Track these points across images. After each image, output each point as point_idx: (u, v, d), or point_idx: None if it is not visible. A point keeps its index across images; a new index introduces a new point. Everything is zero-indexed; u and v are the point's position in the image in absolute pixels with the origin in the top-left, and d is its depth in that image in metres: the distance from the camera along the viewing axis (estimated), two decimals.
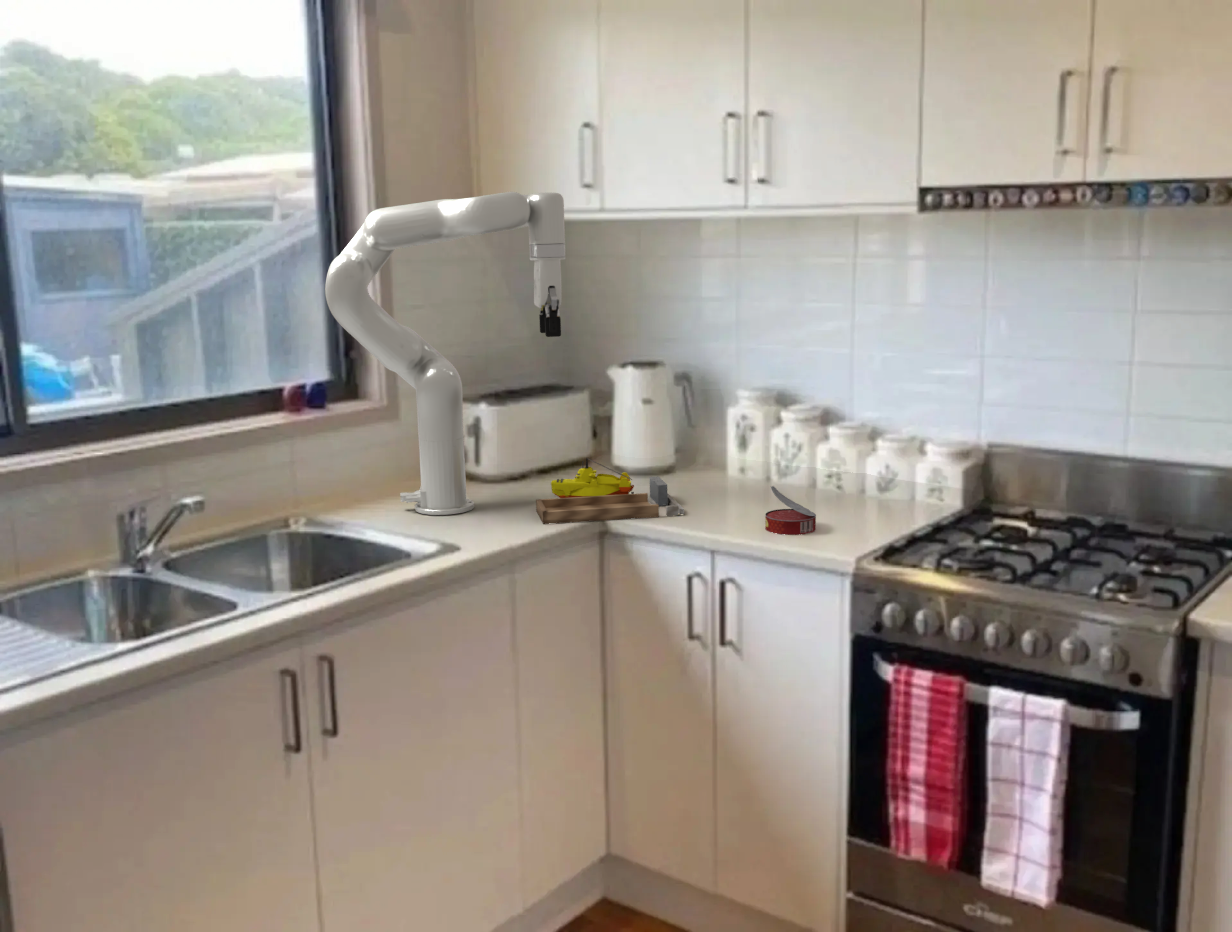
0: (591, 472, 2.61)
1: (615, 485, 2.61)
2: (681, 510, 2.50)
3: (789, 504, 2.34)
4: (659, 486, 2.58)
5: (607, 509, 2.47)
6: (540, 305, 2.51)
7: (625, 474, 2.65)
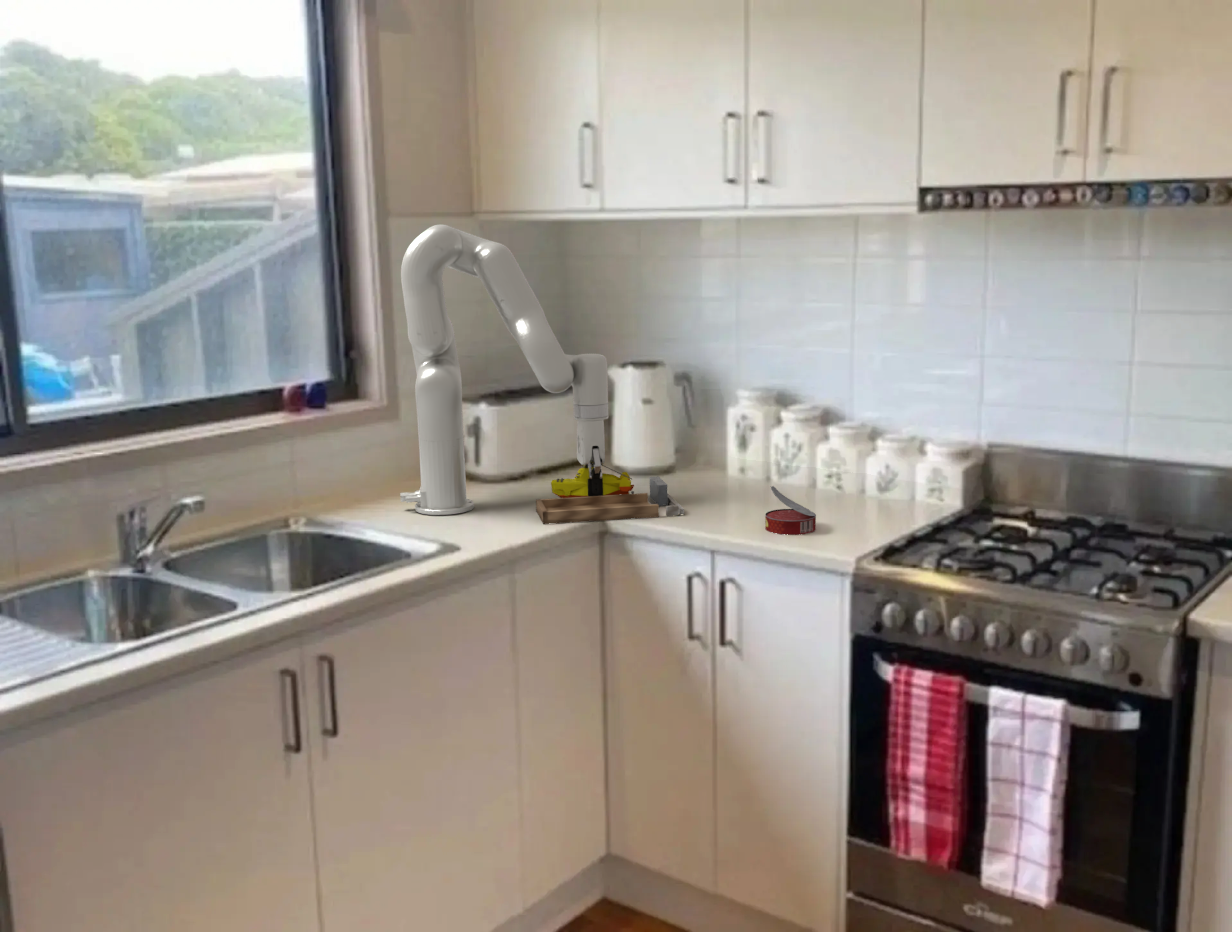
0: None
1: (615, 484, 2.61)
2: (681, 510, 2.50)
3: (789, 504, 2.34)
4: (659, 486, 2.58)
5: (607, 509, 2.47)
6: (584, 464, 2.57)
7: (625, 474, 2.65)
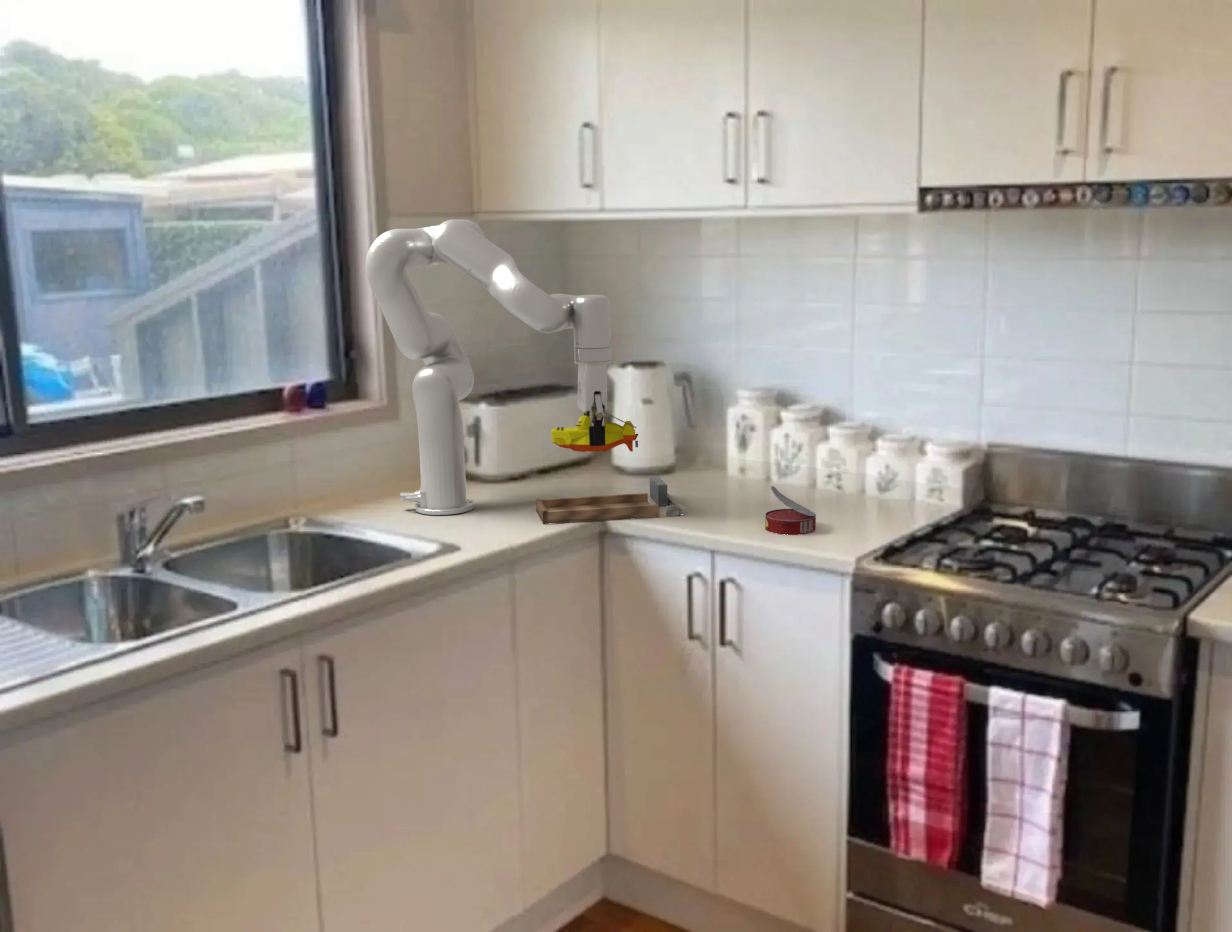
0: None
1: (618, 433, 2.48)
2: (681, 510, 2.50)
3: (789, 504, 2.34)
4: (659, 486, 2.58)
5: (607, 509, 2.47)
6: (585, 411, 2.43)
7: (629, 422, 2.52)
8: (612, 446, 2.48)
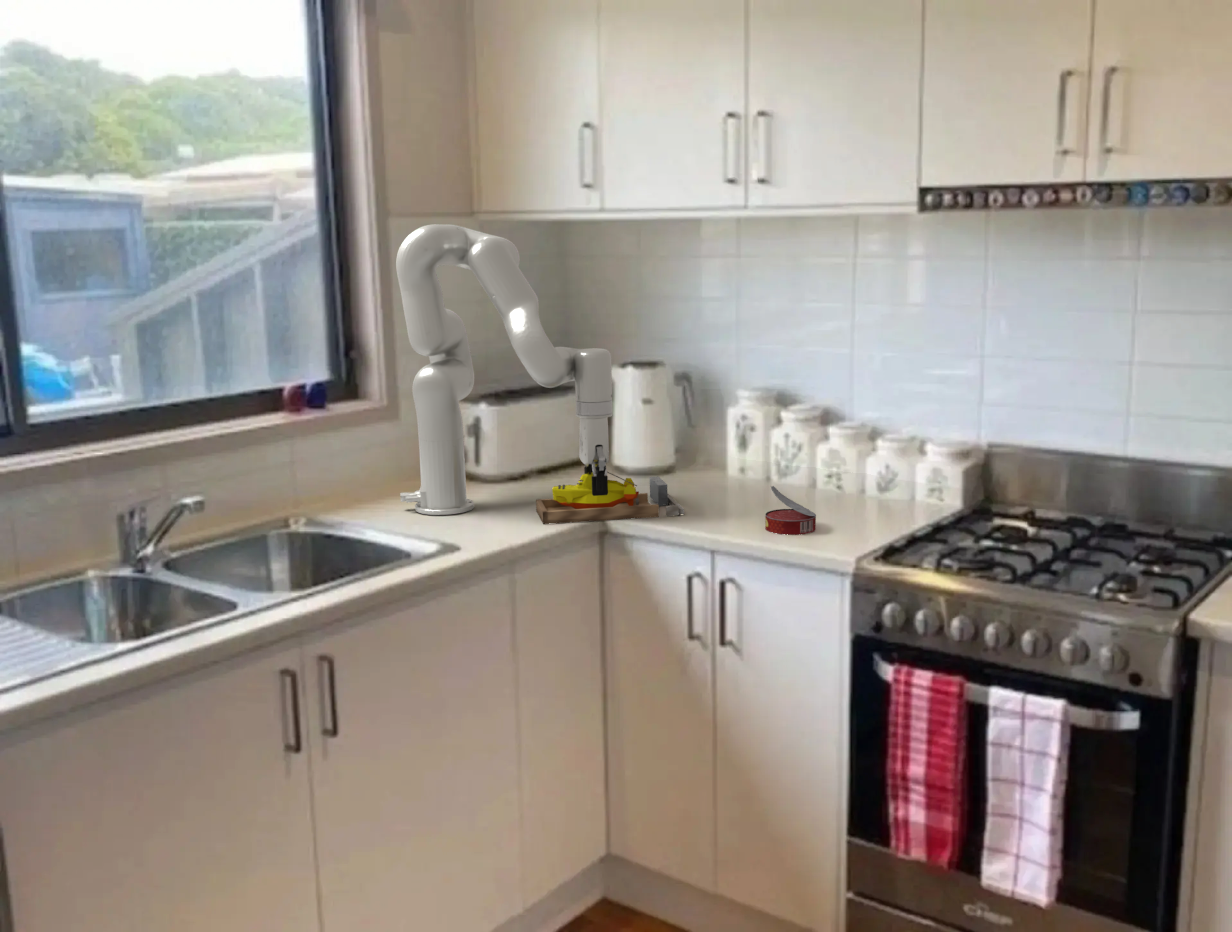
0: None
1: (619, 492, 2.50)
2: (681, 510, 2.50)
3: (789, 504, 2.34)
4: (659, 486, 2.58)
5: (607, 509, 2.47)
6: (587, 464, 2.45)
7: (629, 480, 2.54)
8: (613, 504, 2.51)
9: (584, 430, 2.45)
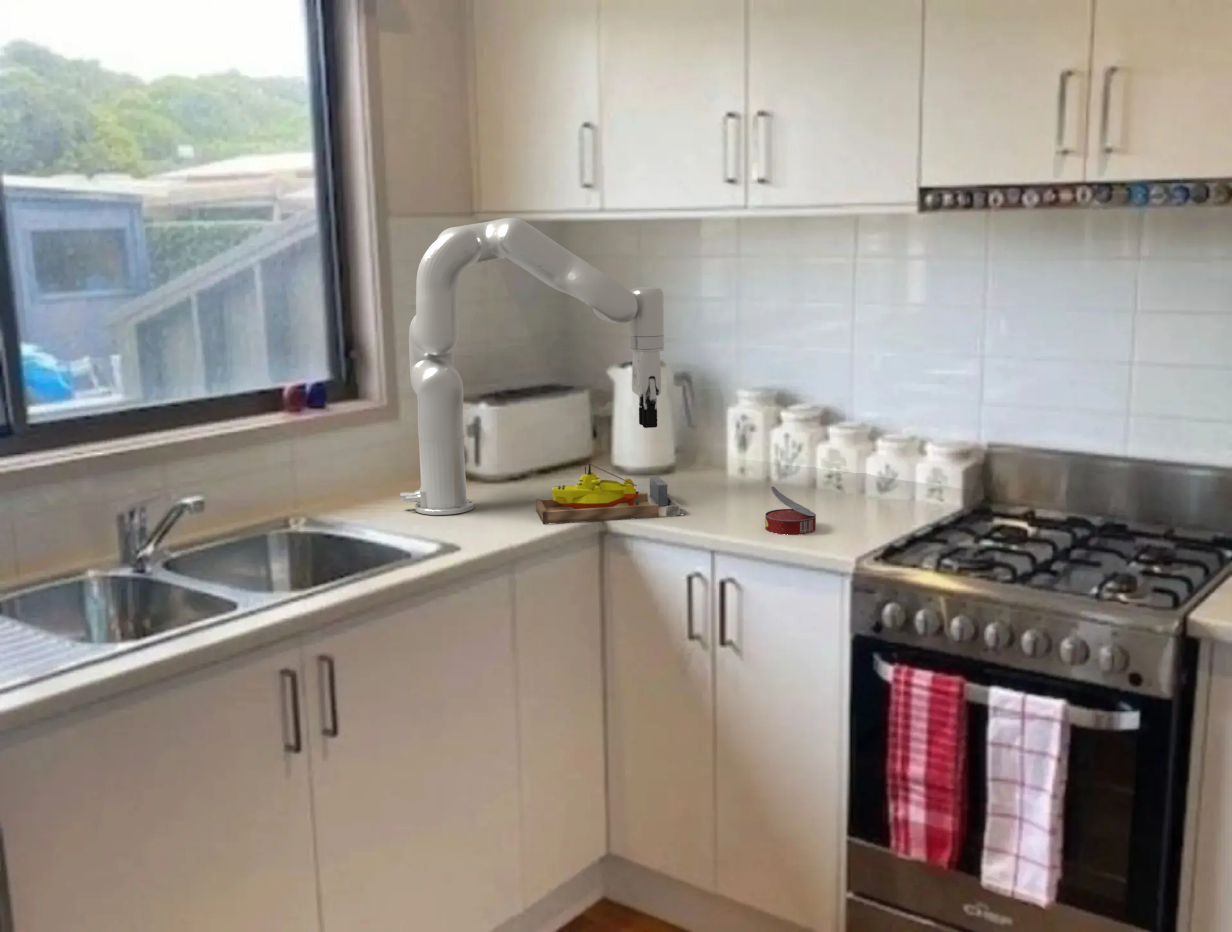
0: (594, 478, 2.50)
1: (619, 491, 2.50)
2: (681, 510, 2.50)
3: (789, 504, 2.34)
4: (659, 486, 2.58)
5: (607, 509, 2.47)
6: (641, 394, 2.63)
7: (629, 480, 2.54)
8: (613, 504, 2.51)
9: (638, 363, 2.63)
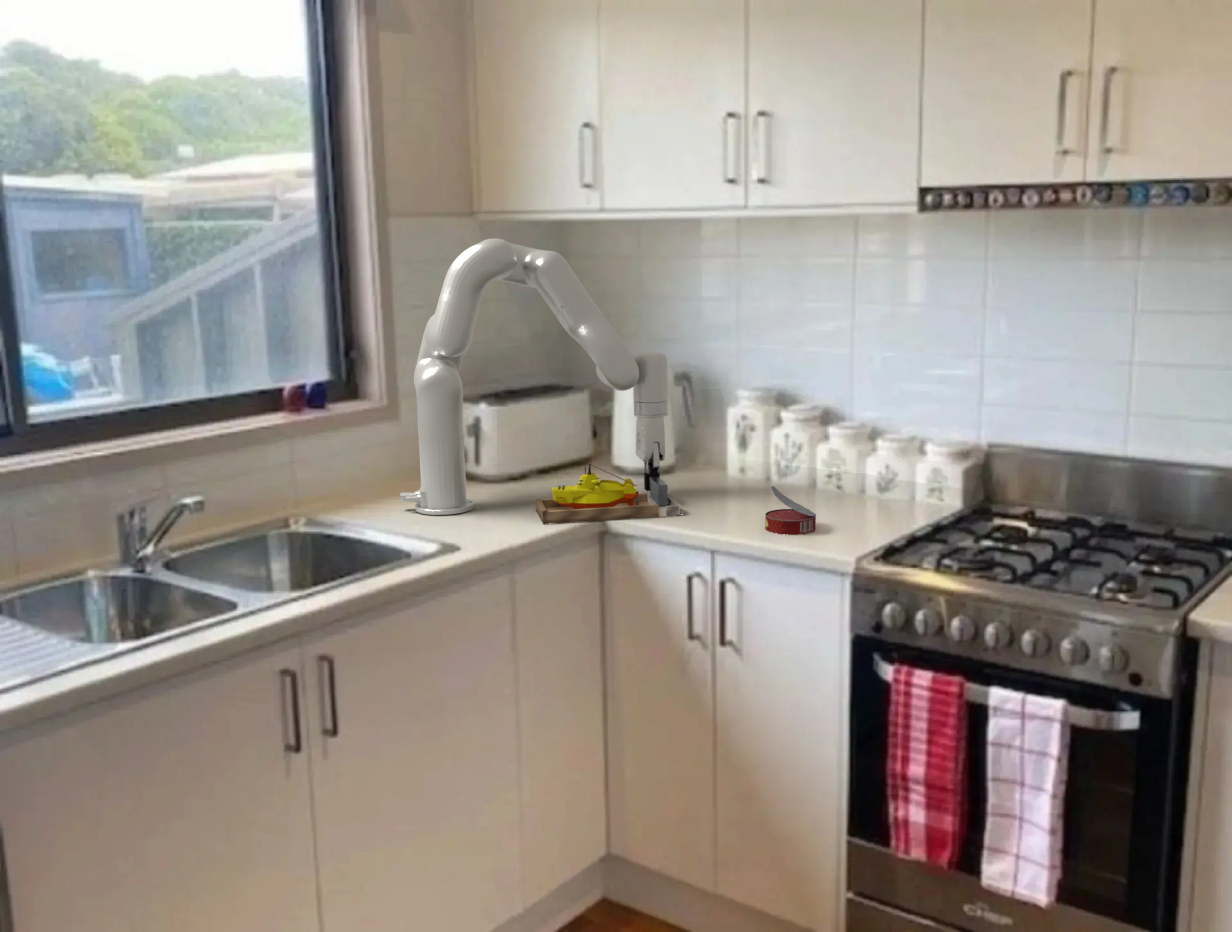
0: (594, 478, 2.50)
1: (619, 491, 2.50)
2: (681, 510, 2.50)
3: (789, 504, 2.34)
4: (659, 486, 2.57)
5: (607, 509, 2.47)
6: (645, 460, 2.63)
7: (629, 480, 2.54)
8: (613, 504, 2.51)
9: (642, 428, 2.63)
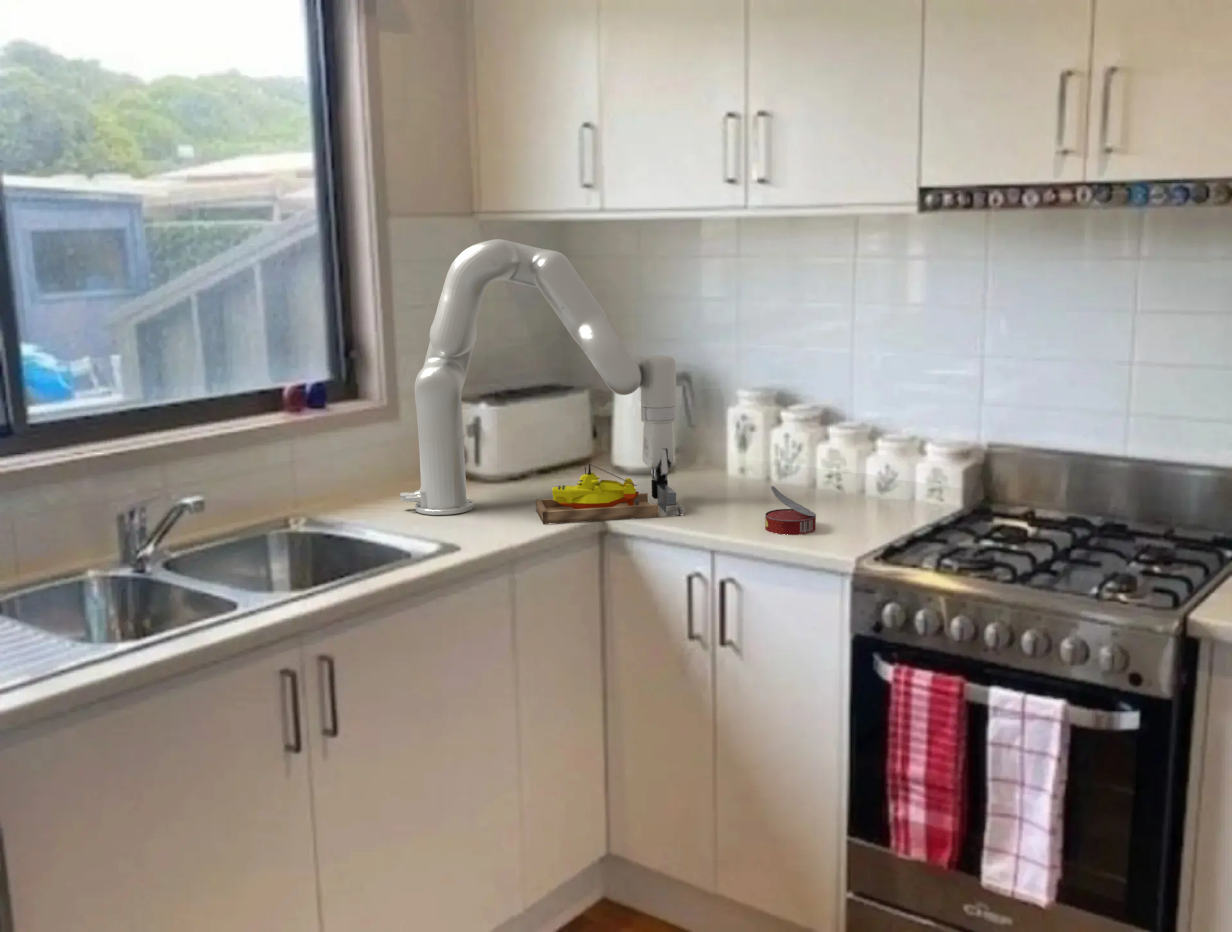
0: (594, 478, 2.50)
1: (619, 491, 2.50)
2: (681, 510, 2.50)
3: (789, 504, 2.34)
4: (667, 494, 2.50)
5: (607, 509, 2.47)
6: (652, 467, 2.55)
7: (629, 480, 2.54)
8: (613, 504, 2.51)
9: (650, 434, 2.55)
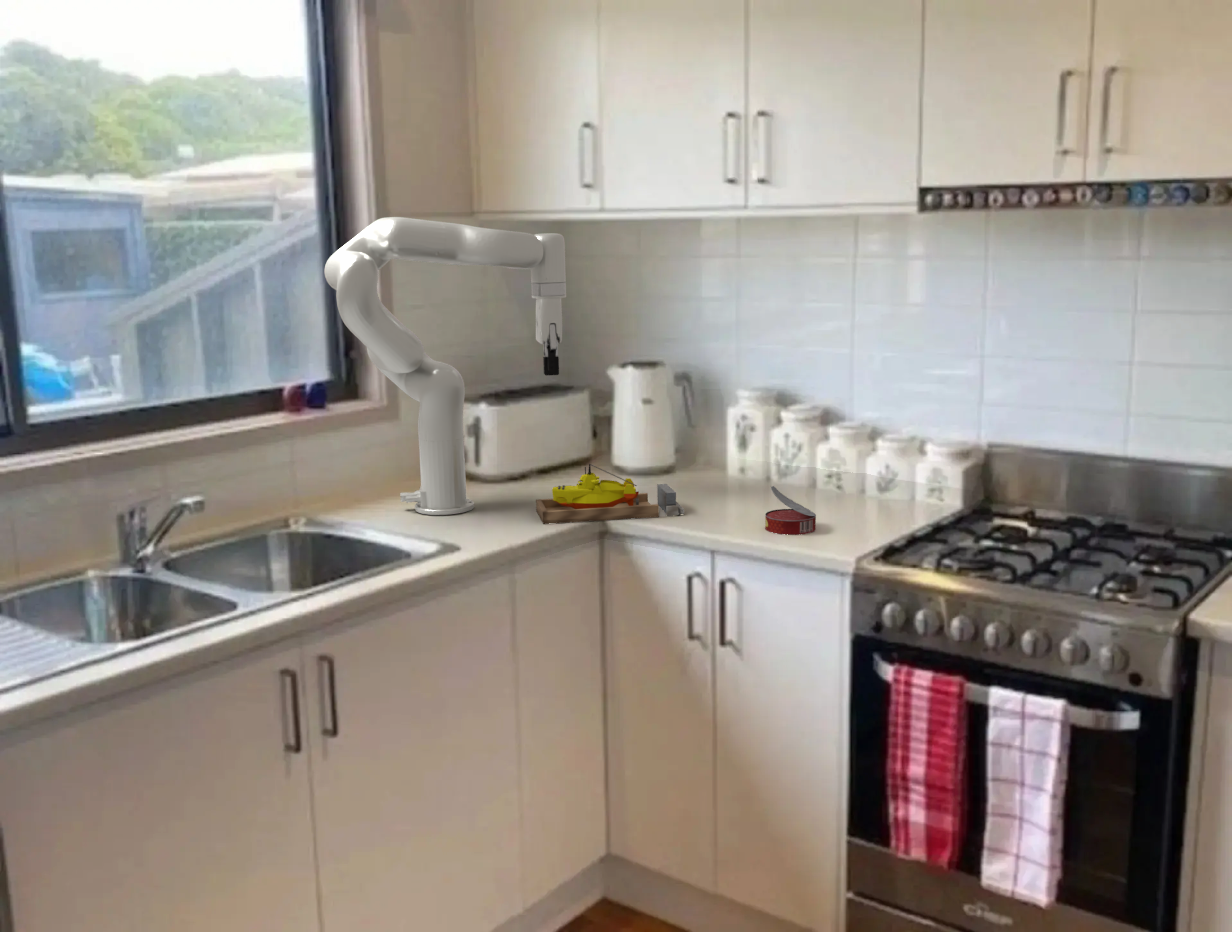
0: (594, 478, 2.50)
1: (619, 491, 2.50)
2: (681, 510, 2.50)
3: (789, 504, 2.34)
4: (667, 494, 2.50)
5: (607, 509, 2.47)
6: (541, 341, 2.60)
7: (629, 480, 2.54)
8: (613, 504, 2.51)
9: (539, 310, 2.60)
